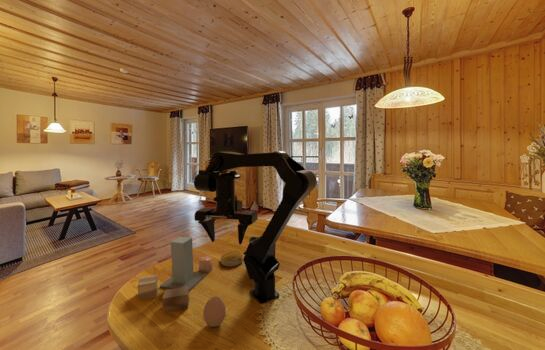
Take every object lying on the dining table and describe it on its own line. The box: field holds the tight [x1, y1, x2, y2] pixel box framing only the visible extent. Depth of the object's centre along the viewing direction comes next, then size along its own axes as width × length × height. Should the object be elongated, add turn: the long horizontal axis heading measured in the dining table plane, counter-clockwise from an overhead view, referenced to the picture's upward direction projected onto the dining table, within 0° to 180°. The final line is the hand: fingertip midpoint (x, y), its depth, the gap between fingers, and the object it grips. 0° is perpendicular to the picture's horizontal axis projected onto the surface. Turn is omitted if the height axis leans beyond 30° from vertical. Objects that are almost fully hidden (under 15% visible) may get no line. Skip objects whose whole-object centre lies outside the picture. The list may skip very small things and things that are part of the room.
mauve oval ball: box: [202, 296, 227, 328], centre depth 55 cm, size 5×5×7 cm
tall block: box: [170, 236, 195, 284], centre depth 74 cm, size 4×4×13 cm
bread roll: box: [219, 249, 244, 267], centre depth 88 cm, size 8×9×4 cm
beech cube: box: [137, 274, 159, 301], centre depth 68 cm, size 4×4×4 cm
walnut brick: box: [162, 286, 190, 314], centre depth 63 cm, size 6×4×4 cm, turn 106°
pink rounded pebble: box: [198, 255, 213, 274], centre depth 82 cm, size 4×4×4 cm
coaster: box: [159, 271, 207, 292], centre depth 75 cm, size 10×10×1 cm
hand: (226, 242), depth 72 cm, fingers open, 9 cm apart
